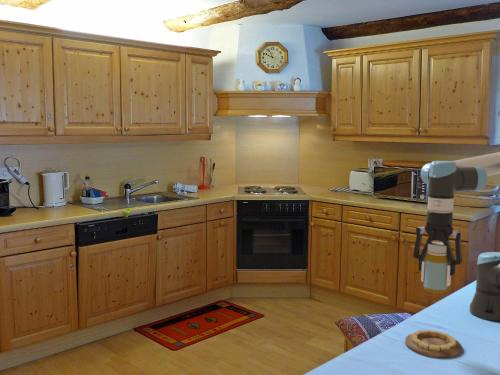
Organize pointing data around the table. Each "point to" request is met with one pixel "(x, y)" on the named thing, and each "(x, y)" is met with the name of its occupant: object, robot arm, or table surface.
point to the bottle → (436, 268)
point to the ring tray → (433, 344)
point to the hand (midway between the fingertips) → (435, 282)
